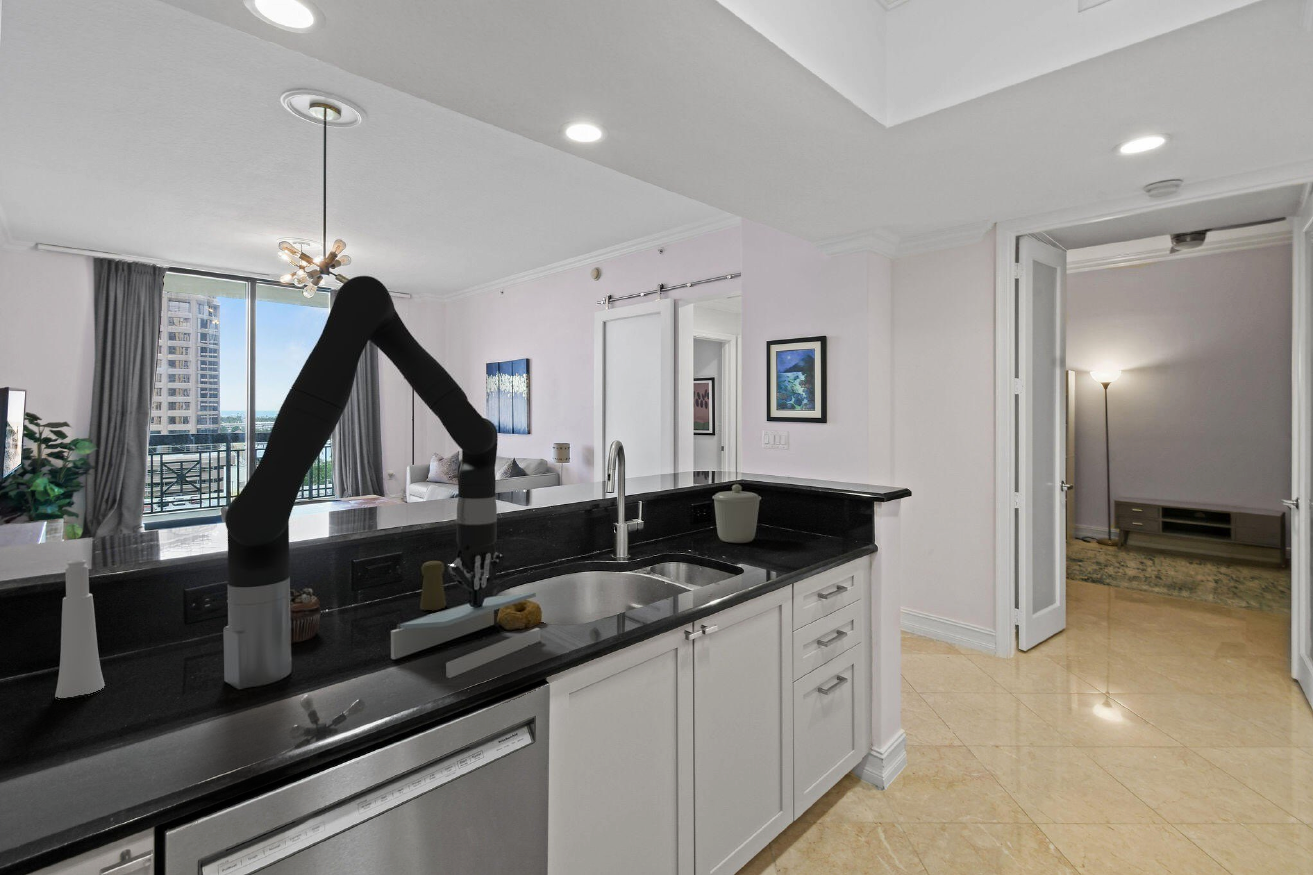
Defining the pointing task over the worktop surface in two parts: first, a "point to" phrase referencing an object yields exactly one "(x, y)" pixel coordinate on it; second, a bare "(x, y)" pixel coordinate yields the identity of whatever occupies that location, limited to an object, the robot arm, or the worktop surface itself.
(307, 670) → the worktop surface
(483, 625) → the white channel
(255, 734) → the worktop surface
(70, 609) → the cosmetic bottle
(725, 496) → the canister
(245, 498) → the robot arm
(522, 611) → the bagel
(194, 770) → the worktop surface
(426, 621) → the cover
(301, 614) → the cupcake
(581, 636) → the worktop surface
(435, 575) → the cork
